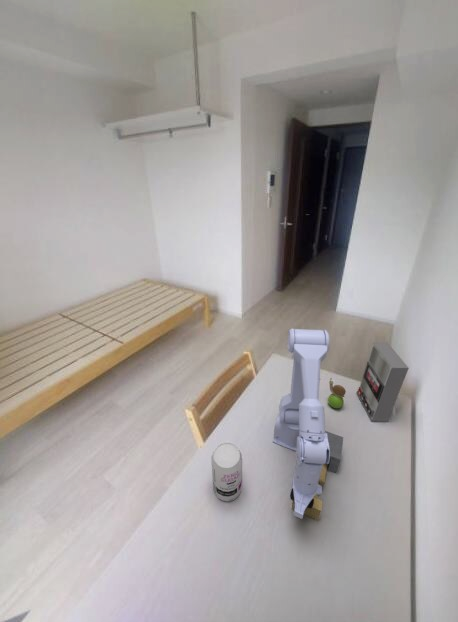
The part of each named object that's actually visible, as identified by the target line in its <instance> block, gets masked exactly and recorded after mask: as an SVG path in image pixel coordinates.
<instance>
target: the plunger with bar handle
mask: <svg viewBox="0 0 458 622" xmlns="http://www.w3.org/2000/svg"><path fill="white" fill-rule="evenodd" d="M327 466H328V464H326V463H325V464H323V466H322V470H321V474H320V478H319V482H318V484H319V485H321V486H324V485H325V483H326V477H327ZM318 497H319V495H318V494H315V496H314V497H313V499H314V503H313V507H312V508H311V509H310V508H306V509H305V511H304V514H303V515H305V516H307V517H310V518H312V519H314V520H316V521H320V515H321V512H322V508H323V507H322V506H323V500H321V499H319V498H318ZM291 509H293V510H295V504H294V502H293V501H292V503H291Z"/></svg>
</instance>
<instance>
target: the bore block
mask: <svg viewBox="0 0 458 622" xmlns="http://www.w3.org/2000/svg"><path fill="white" fill-rule="evenodd" d="M325 433H327V436H328V442H329V448H330V460H329V464H328V466H327V471H328V472H331V473H333V474H335V475H337V474H338V471H339V468H340V464H341V461H342V453H343V443H344V436H341V435H339V434H335V433H333V432H329V431H327V430H325Z"/></svg>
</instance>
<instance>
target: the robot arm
mask: <svg viewBox="0 0 458 622" xmlns="http://www.w3.org/2000/svg"><path fill="white" fill-rule="evenodd" d="M330 344H331V342H330V333H329V332H328V330H326V329H301V328H290V329H289V330H288V333H287V343H286V349H287V350H288V351H289V353H292V356H291V358H292V359H293V361H292V362H293V365H292V375H291V384H290V393H288V394H286V395H284V396H281V399H280V403H279V407H278V408H279V409H278V412H279V413H278V414H277V417H276V420H275V423H274V430H273V437H272V438H273V439H272V442H273V443H274V444H277V445H279V446H281V447H285V448H286V449H289V450H292V451H294V452H295V453H296V463H295V464H296V465H295V468H294V469H295V470H294V475H293V476H292V481H291V482H292V487H291V490H290V495H289V499H290V500H291V501H292V502H294V504H295V509H293V516H295V517H297V518H299V519H301V520H302V519H303V517H304V515H305V514H304V511H305V509H306V508H310V509H311V508H312V507H313V503H314V499H313V497H314V496H315V494H318V496H320V495H322V489H323V487H322V486H323V485H319V484H318V482H319V478H320V474H321V470H322V466H323V464H325V463H326V464H329V460H330V448H329V442H328V436H327V433H325V431H326V422H325V421H326V420H325V419H326V417H325V406H324V404H323V403H322V402H321V401H320V382H321V362H322V361H324V360H325V359H326V357H327V354H328V352H329V350H330Z"/></svg>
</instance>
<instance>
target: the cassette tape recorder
mask: <svg viewBox="0 0 458 622" xmlns="http://www.w3.org/2000/svg"><path fill="white" fill-rule="evenodd" d="M371 345H372V346H371V349H370V352H369V356H368V358H367V361H366V366H365V368H364V371H363V372H364V373H363V374H362V379H361V383H360V385H359V387H358V389H357V390H356V395H357V397H358V399H359V400H360V402H361V405H362V406H363V408H364V411H365V412H366V414H367V416H368V418H369V420H370V422H372V423H373V422H374V423H375V422H378V423H379V422H380V423H388V422H389V420H390V416H391V413H392V411H393V408H394V407H395V404H396V401H397V399H398V396H399V394H400V391H401V389H402V386H403V383H404V381H405V380H406V379H405V378H406V376H407V374H408V371H409V368H410V367H409V366H408V365H407V364H406V363H405V362H404V360H403V359H402V358H401V357H400V355H399V354H398V353H397V352H396V351H395V350H394V348H393V347H392V346H391V344H390V343H389V342H372V344H371Z"/></svg>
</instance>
